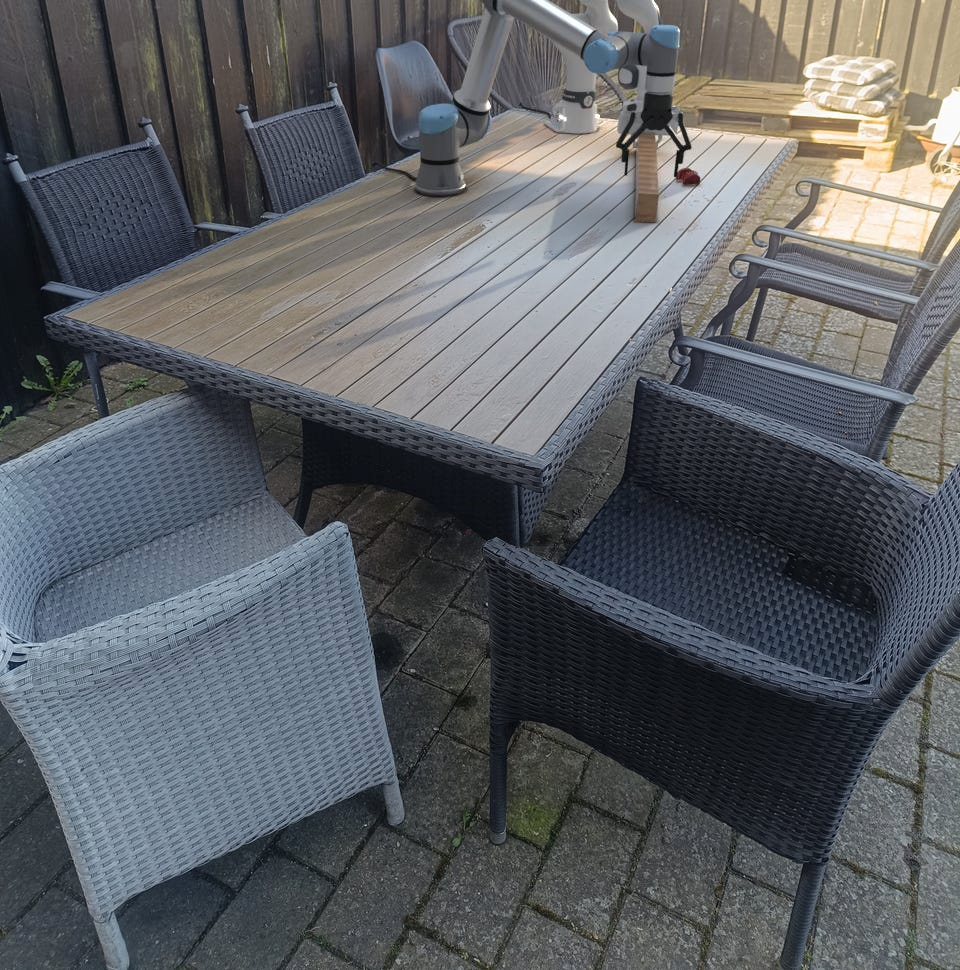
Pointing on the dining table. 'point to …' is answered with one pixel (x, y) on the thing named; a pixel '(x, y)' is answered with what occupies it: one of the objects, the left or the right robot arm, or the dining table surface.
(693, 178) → the dark red lumpy piece
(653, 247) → the dining table surface
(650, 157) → the beam
